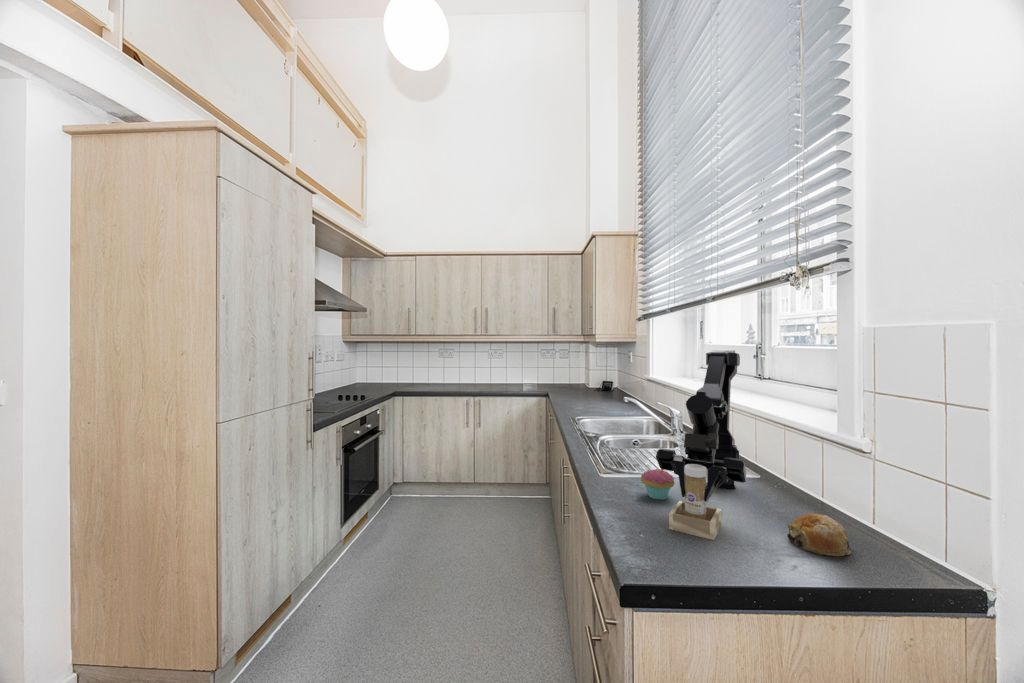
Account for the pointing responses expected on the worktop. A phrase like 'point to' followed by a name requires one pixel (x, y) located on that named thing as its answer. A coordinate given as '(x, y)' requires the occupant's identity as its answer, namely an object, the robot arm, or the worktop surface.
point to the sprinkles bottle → (695, 490)
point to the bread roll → (819, 535)
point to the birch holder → (695, 522)
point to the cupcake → (657, 483)
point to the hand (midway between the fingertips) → (694, 498)
